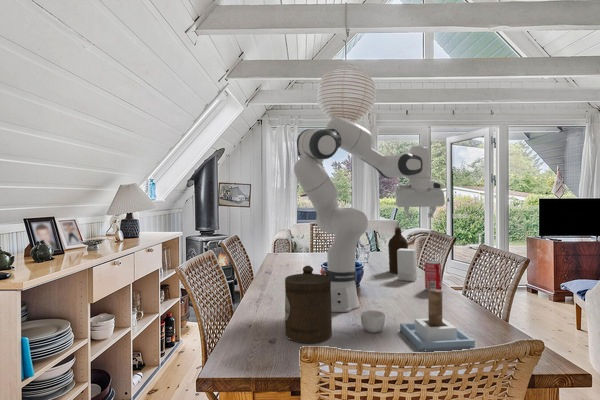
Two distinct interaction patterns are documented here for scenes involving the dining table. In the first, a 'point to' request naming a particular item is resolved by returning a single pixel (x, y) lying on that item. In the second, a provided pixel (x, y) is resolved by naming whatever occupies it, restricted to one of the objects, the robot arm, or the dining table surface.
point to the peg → (435, 307)
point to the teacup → (372, 320)
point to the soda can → (433, 275)
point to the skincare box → (406, 264)
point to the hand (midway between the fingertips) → (420, 217)
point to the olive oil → (393, 246)
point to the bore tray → (436, 344)
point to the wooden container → (308, 307)
